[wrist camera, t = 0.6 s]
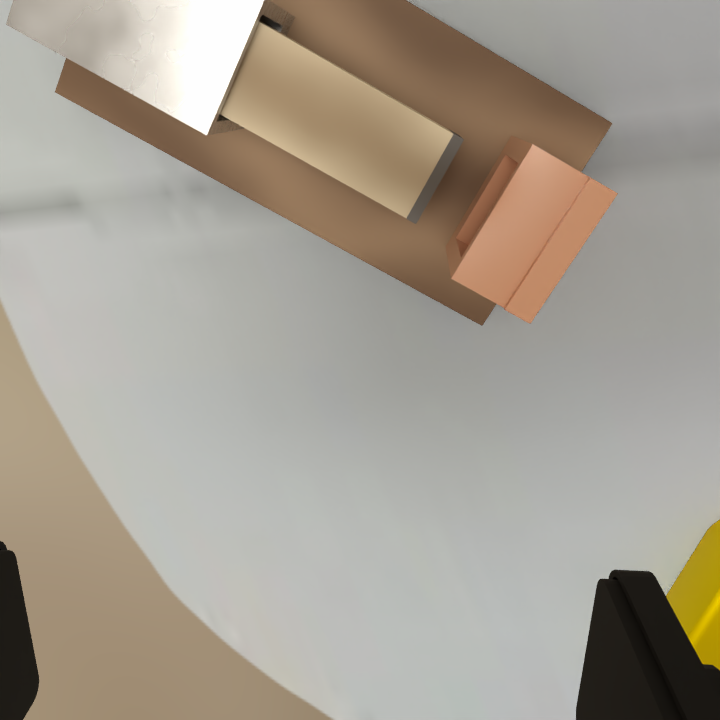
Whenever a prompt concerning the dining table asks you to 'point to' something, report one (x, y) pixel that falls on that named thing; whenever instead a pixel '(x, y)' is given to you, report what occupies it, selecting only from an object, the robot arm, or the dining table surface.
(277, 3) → the walnut board
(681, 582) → the element tile
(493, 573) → the dining table surface
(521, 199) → the terracotta socket
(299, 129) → the tube
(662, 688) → the robot arm
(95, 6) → the metal sleeve
